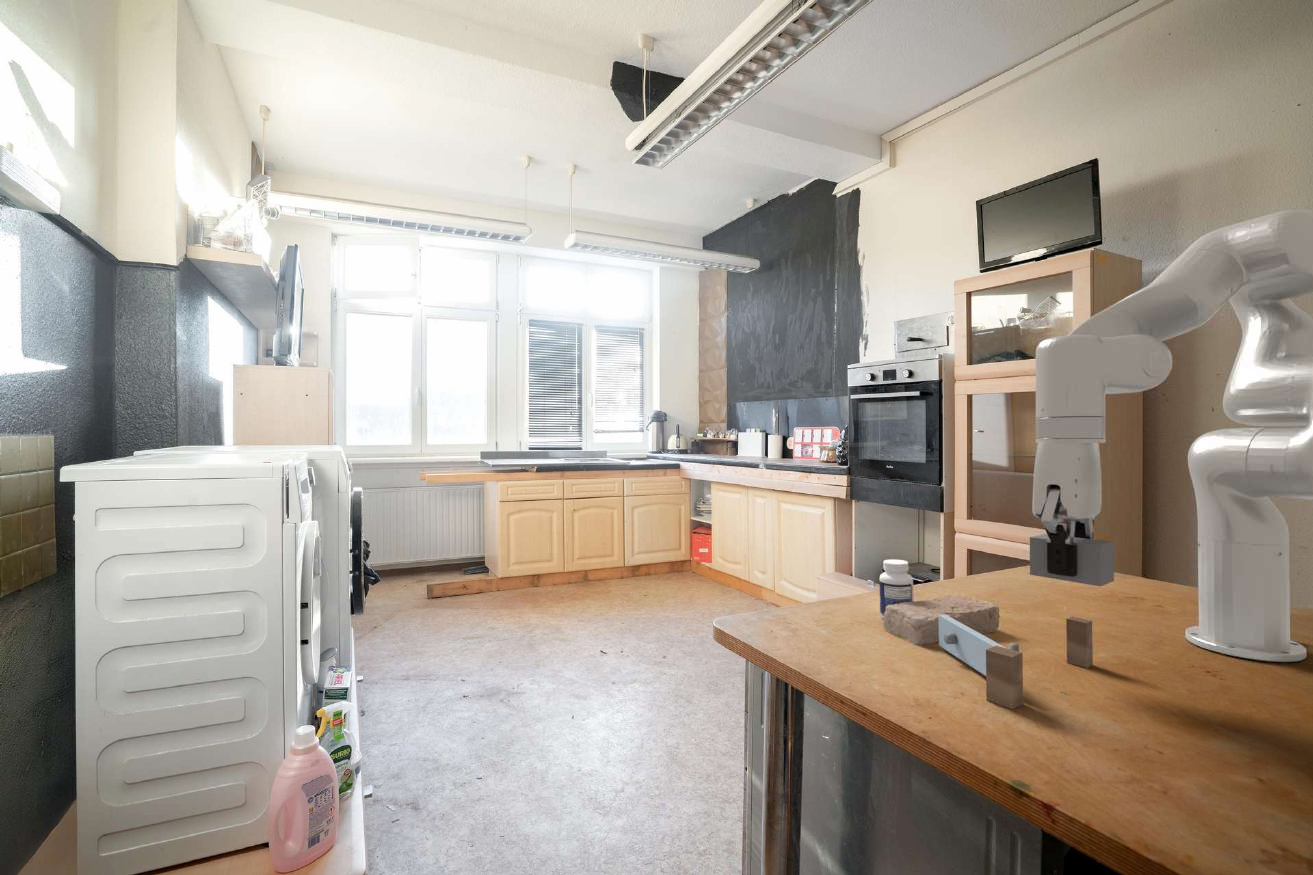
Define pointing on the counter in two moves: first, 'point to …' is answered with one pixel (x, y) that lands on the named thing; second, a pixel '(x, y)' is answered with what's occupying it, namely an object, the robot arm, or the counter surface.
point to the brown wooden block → (1004, 676)
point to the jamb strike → (1079, 641)
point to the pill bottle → (895, 584)
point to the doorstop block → (1091, 561)
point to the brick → (923, 617)
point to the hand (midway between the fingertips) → (1070, 570)
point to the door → (966, 643)
